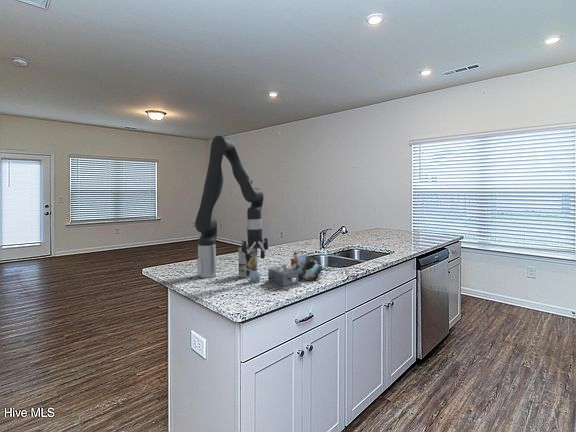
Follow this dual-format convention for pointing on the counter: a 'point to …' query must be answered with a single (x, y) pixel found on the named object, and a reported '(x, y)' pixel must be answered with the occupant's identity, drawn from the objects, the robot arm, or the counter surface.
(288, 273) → the motor
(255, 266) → the coffee box
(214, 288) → the counter surface
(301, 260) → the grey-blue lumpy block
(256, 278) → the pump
